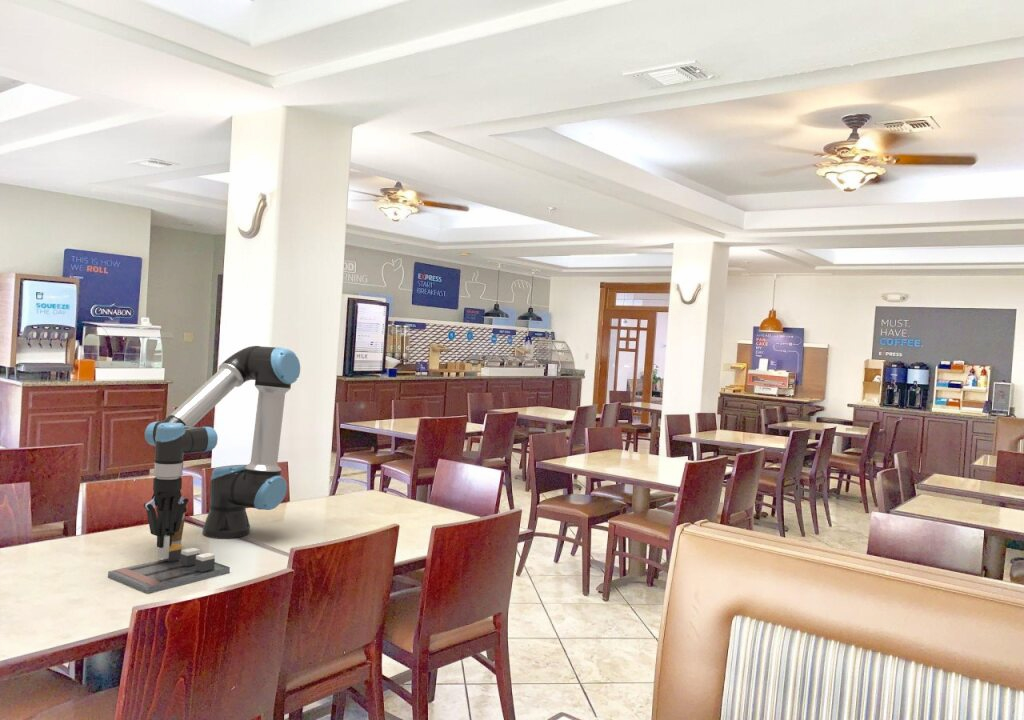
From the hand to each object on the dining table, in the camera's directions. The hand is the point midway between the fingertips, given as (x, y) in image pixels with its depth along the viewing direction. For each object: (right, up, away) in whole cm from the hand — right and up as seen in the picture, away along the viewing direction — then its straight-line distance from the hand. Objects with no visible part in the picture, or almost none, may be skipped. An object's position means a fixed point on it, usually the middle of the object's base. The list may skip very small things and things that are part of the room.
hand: (163, 557), depth 221 cm
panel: (+4, -3, -6) cm, 8 cm away
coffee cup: (-6, -2, +16) cm, 18 cm away
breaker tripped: (+1, -1, +2) cm, 3 cm away
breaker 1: (+8, -2, -1) cm, 8 cm away
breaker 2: (+14, -2, -4) cm, 15 cm away
